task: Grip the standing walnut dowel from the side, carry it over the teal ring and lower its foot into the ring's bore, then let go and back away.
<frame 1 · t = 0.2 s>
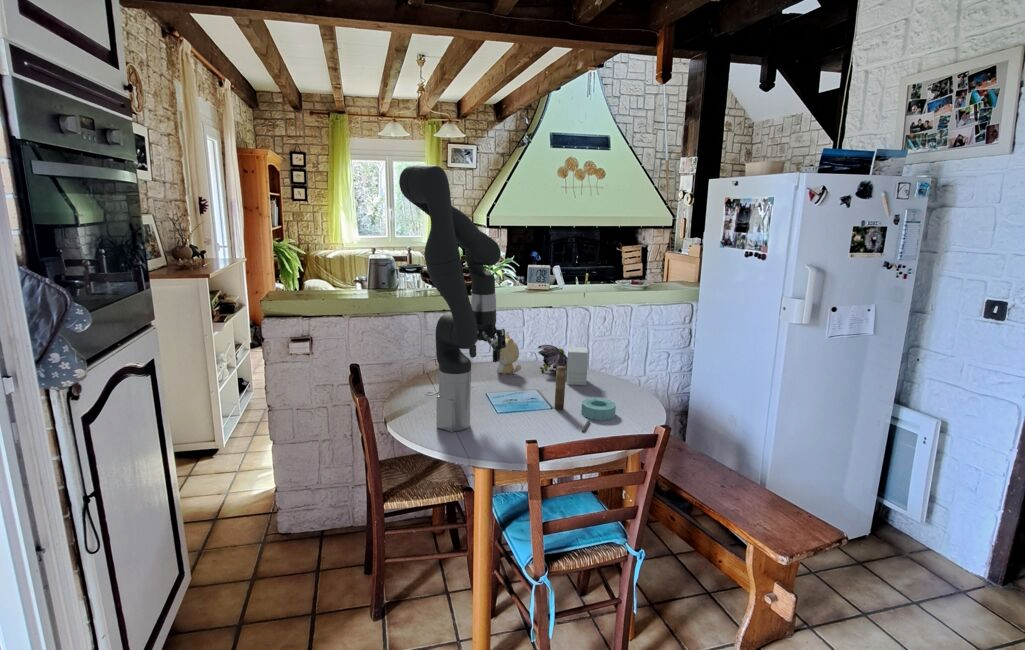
hand: (484, 359, 172), 17 cm above the table, tool pointing down, fingers open, 8 cm apart
scissors: (452, 393, 194), on the table
supplement box: (576, 382, 209), on the table
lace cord: (585, 427, 167), on the table
teal ring: (597, 413, 178), on the table
decorative flower: (553, 372, 220), on the table
kitten: (505, 373, 217), on the table
needle dowel: (559, 408, 181), on the table
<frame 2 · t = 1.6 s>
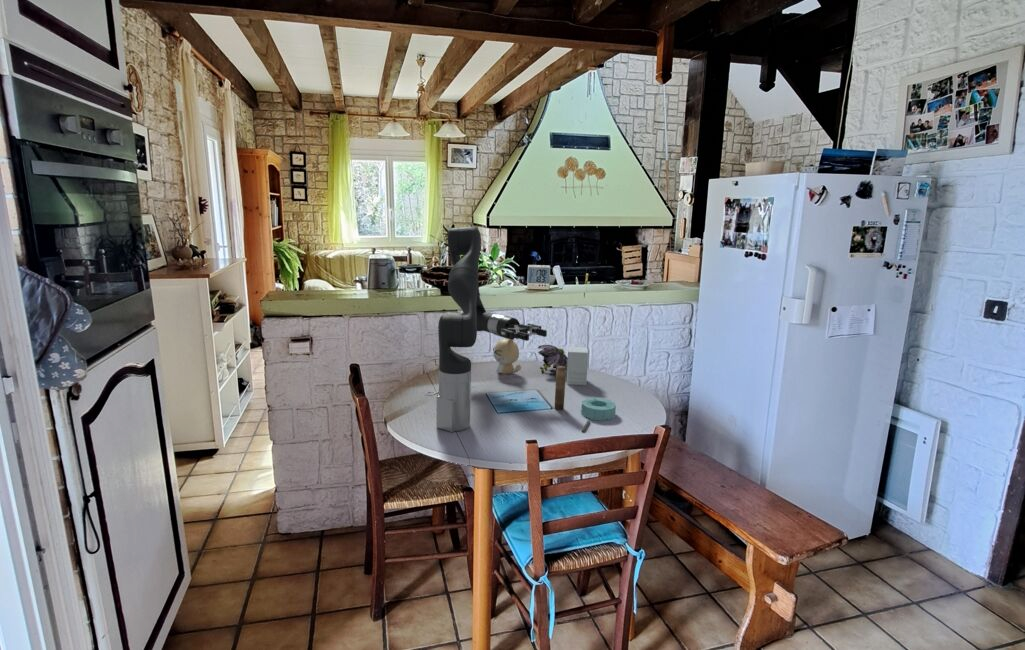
hand: (537, 335, 184), 22 cm above the table, tool horizontal, fingers open, 8 cm apart
nothing on the table moved.
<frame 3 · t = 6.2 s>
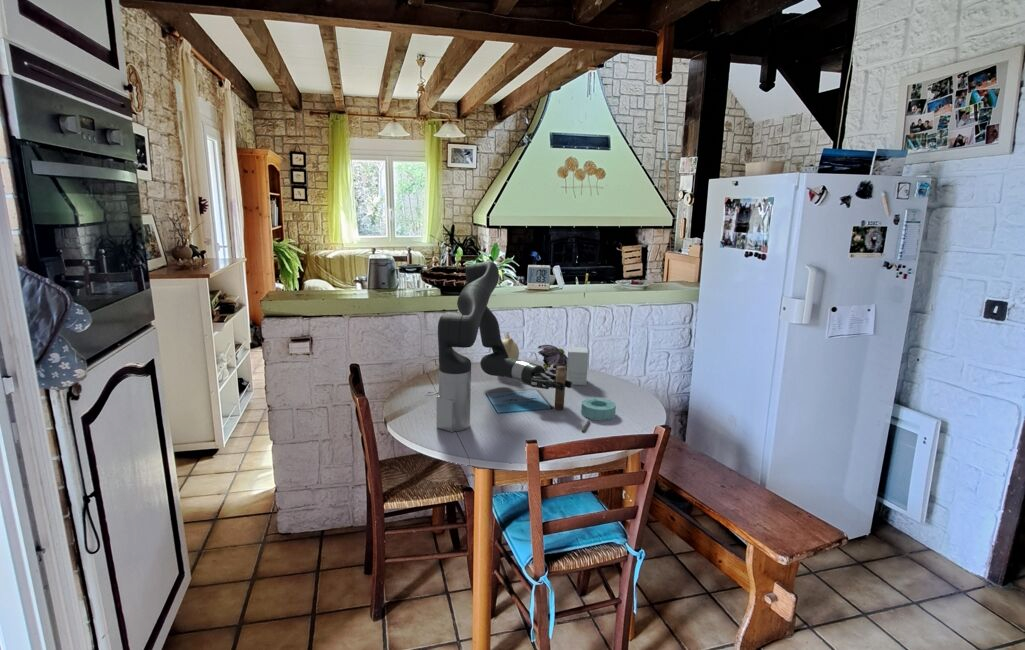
hand: (567, 386, 178), 8 cm above the table, tool horizontal, fingers closed on needle dowel, 3 cm apart
needle dowel: (559, 408, 181), on the table, touching gripper
everything else where it was.
when the fingers open (10 cm above the table, at t = 10.6 s): needle dowel drops 2 cm, resting in teal ring.
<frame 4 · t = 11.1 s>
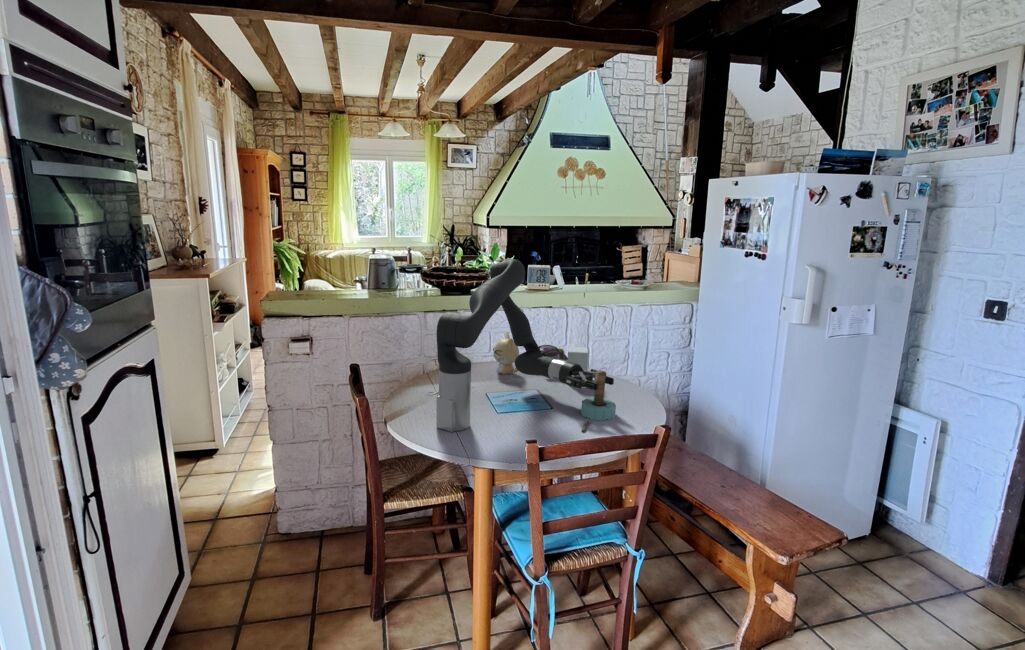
hand: (605, 384, 174), 10 cm above the table, tool horizontal, fingers open, 8 cm apart
needle dowel: (597, 413, 178), resting in teal ring
everything else where it was.
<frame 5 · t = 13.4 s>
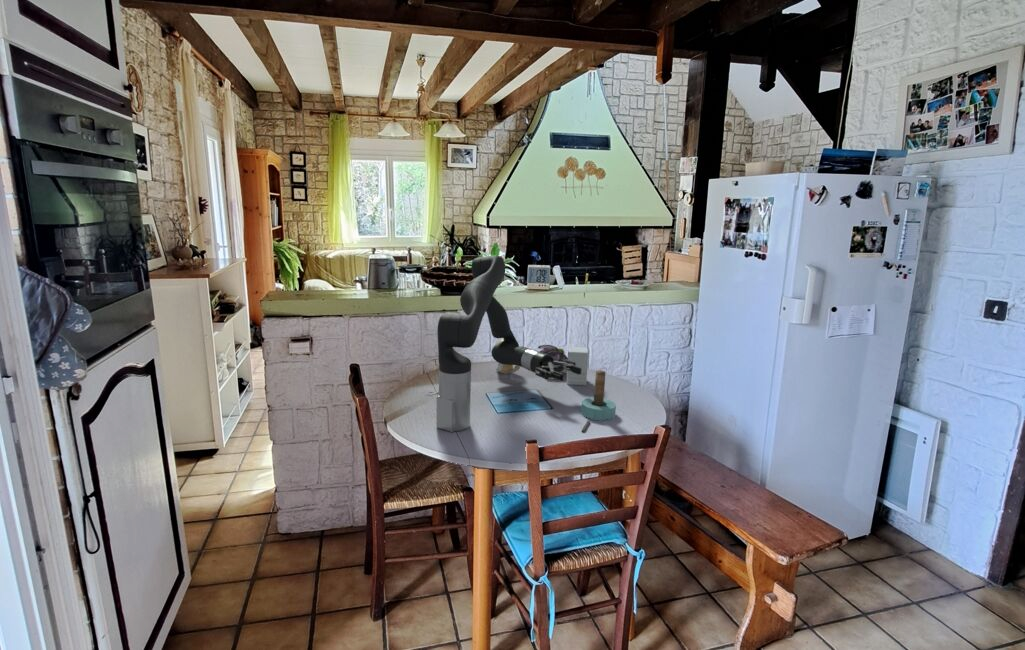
hand: (572, 374, 182), 11 cm above the table, tool horizontal, fingers open, 8 cm apart
nothing on the table moved.
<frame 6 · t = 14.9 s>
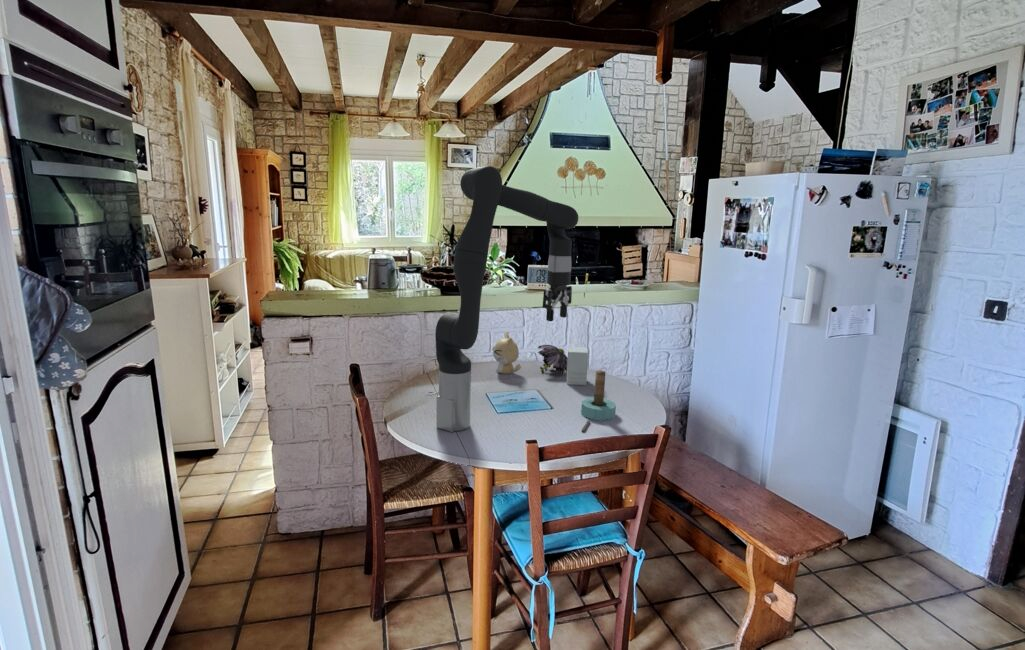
hand: (556, 319, 183), 28 cm above the table, tool pointing down, fingers open, 8 cm apart
nothing on the table moved.
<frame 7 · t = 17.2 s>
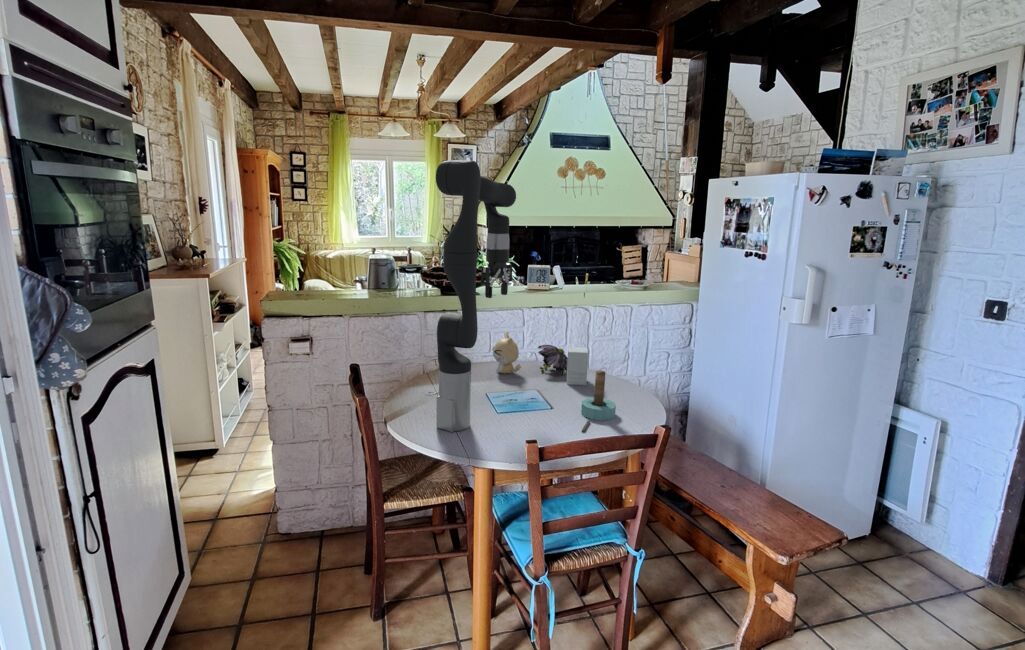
hand: (496, 296, 186), 34 cm above the table, tool pointing down, fingers open, 8 cm apart
nothing on the table moved.
at the end: needle dowel 0.1 cm off-centre on the teal ring, point 0.0 cm above the teal ring's base; needle dowel tilted 0°; the gripper is holding nothing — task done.
